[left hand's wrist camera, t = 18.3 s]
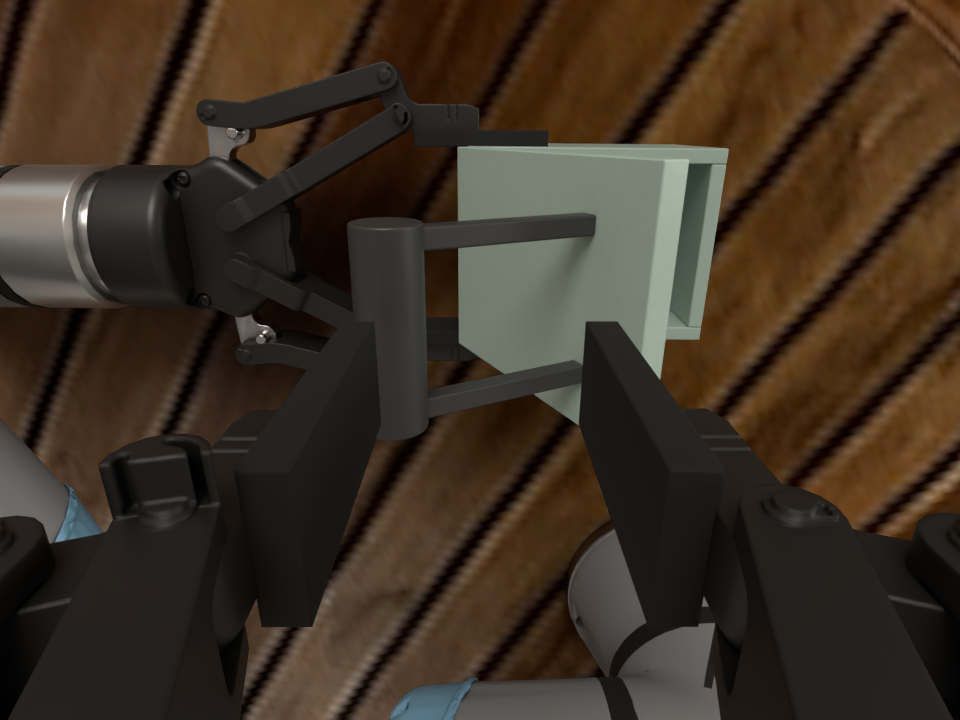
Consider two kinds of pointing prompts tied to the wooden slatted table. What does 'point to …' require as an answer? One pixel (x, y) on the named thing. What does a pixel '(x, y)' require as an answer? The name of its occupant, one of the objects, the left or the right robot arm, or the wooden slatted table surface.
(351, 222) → the lid
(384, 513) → the wooden slatted table surface
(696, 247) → the chest
